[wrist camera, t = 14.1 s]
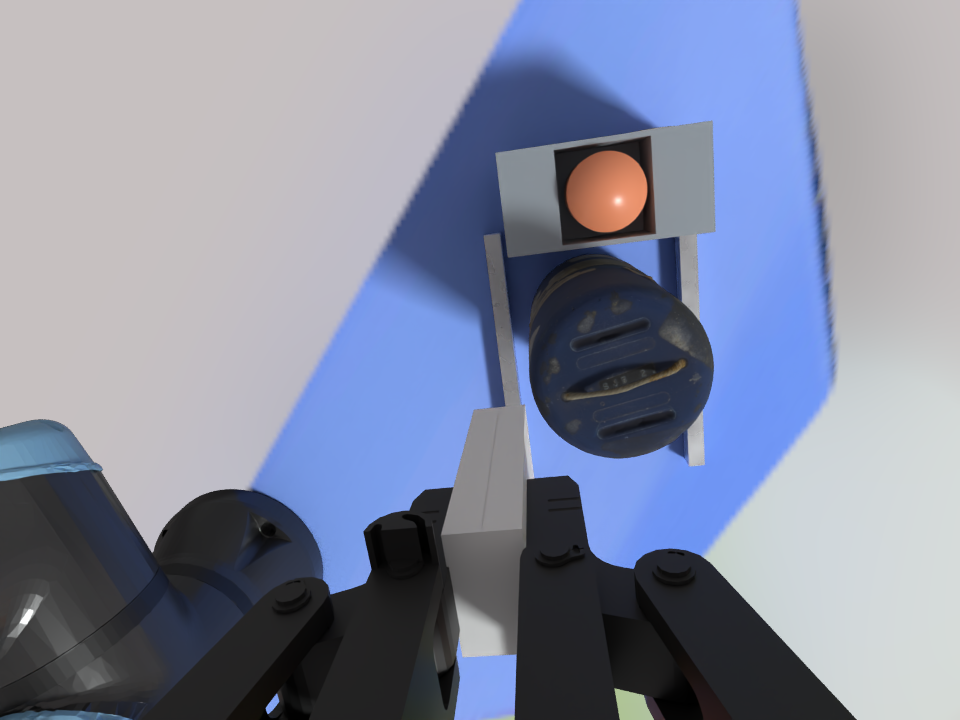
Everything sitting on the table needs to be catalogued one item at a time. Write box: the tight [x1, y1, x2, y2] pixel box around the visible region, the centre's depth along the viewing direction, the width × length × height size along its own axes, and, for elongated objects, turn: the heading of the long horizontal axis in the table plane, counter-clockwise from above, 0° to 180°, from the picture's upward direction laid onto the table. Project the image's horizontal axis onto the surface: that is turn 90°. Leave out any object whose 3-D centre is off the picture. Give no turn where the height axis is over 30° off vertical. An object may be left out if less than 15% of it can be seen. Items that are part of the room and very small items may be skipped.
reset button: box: [564, 151, 647, 232], centre depth 35 cm, size 4×4×4 cm
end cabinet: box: [495, 121, 715, 258], centre depth 38 cm, size 12×6×10 cm, turn 98°
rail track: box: [484, 232, 705, 466], centre depth 45 cm, size 15×20×2 cm
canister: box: [529, 254, 714, 458], centre depth 37 cm, size 10×10×18 cm
